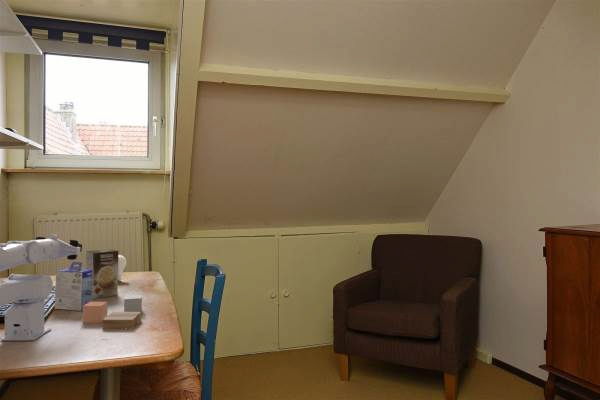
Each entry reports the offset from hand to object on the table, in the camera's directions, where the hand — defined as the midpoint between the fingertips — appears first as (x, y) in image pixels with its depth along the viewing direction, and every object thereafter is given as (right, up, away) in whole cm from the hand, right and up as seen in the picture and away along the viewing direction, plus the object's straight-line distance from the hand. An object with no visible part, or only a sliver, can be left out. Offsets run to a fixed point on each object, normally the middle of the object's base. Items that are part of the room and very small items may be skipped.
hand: (68, 246), depth 139 cm
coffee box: (-1, -20, +26) cm, 33 cm away
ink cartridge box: (-2, -21, +8) cm, 22 cm away
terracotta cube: (+11, -21, -6) cm, 24 cm away
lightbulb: (-5, -20, +52) cm, 55 cm away
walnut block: (+20, -21, -9) cm, 31 cm away
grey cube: (+18, -21, +4) cm, 28 cm away
